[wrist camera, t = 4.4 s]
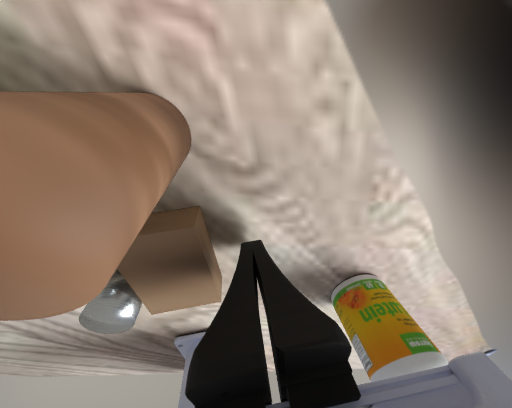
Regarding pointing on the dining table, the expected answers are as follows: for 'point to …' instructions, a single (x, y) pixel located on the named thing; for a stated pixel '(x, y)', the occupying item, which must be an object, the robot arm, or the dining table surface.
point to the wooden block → (173, 262)
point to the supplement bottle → (383, 330)
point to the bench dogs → (112, 307)
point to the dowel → (77, 190)
